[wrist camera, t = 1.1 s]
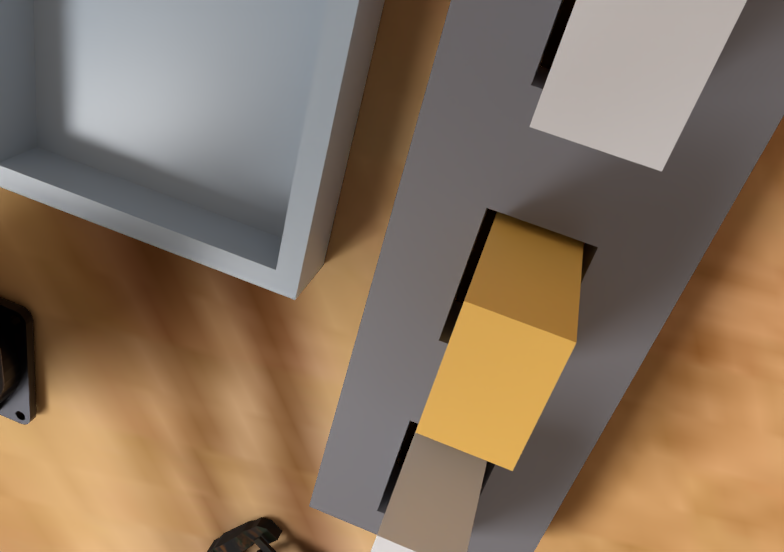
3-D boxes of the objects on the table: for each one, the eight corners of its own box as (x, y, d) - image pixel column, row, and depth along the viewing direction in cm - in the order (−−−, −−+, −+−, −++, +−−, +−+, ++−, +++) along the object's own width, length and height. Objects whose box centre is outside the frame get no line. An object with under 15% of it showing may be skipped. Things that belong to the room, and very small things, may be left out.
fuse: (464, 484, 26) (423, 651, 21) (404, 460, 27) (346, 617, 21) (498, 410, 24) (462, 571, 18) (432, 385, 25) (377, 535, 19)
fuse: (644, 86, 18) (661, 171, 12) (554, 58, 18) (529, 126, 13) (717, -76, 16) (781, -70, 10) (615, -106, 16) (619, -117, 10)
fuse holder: (519, 537, 27) (511, 590, 25) (332, 460, 28) (309, 506, 26) (873, -114, 15) (917, -119, 13) (527, -211, 16) (515, -230, 14)
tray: (323, 264, 24) (295, 299, 21) (30, 155, 25) (-24, 177, 23) (431, -201, 17) (405, -218, 14) (15, -320, 18) (-65, -352, 16)
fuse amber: (537, 322, 22) (512, 471, 16) (465, 295, 23) (415, 432, 17) (585, 216, 20) (576, 343, 14) (505, 188, 21) (464, 301, 15)
